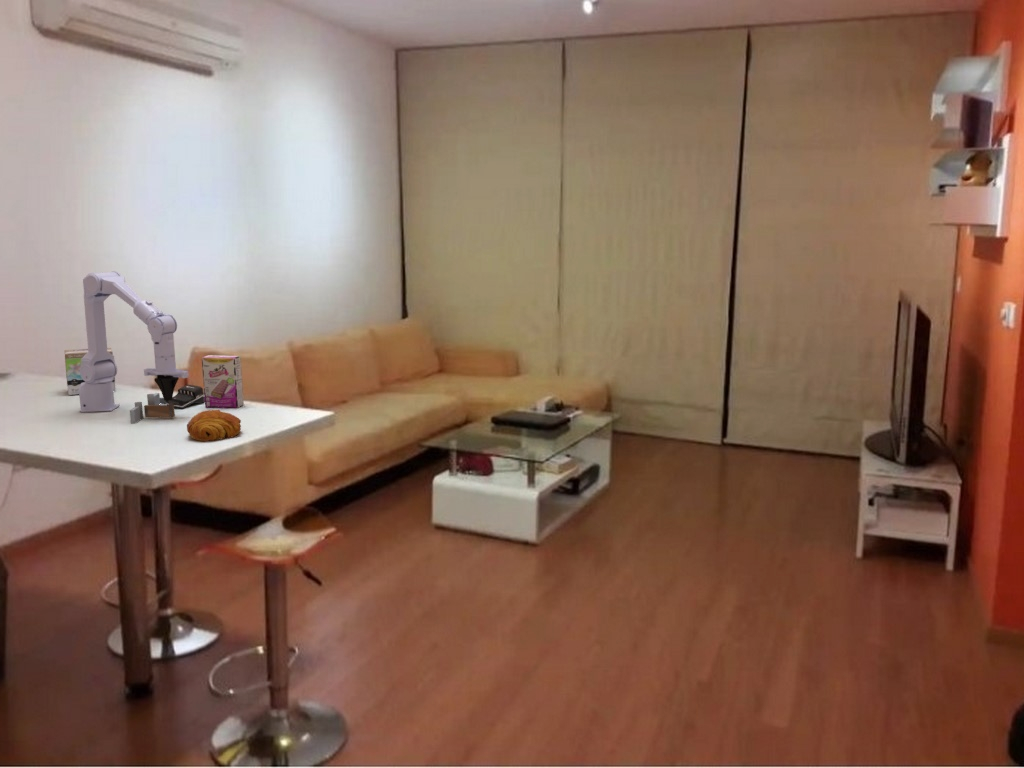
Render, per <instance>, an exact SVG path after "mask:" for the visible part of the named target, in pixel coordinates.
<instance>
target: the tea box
mask: <svg viewBox="0 0 1024 768" xmlns="http://www.w3.org/2000/svg"><path fill="white" fill-rule="evenodd" d="M107 351H108V352H109V353H111V354H112V355H113V356H114V354H113V350H112V347H107ZM87 352H88V348H81V349H65V350H64V363H65V365H64V366H65V374H66V375H65V376H66V387H67V393H68V396H75V395H79V387H80V384H81V383H83V382H85V381H84V380H83V379H82V378H81V375H80V367H81V359H82V358H83V357H84V356H85V355H86V354H87ZM112 382H113V391H115V392H116V376H115V377H114V380H112Z"/></svg>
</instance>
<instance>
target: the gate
mask: <svg viewBox="0 0 1024 768" xmlns="http://www.w3.org/2000/svg"><path fill="white" fill-rule="evenodd" d="M143 409H144V410H143V411H144V418H146V419H147V418H148V419H149V418H151V419H152V418H153V419H154V418H158V419H159V418H160V419H161V418H165V419H166V418H171V419H173V418H175V417H176V414H175V407H174V402H170V403H169V405H166V404H160V405H148V404H145V405H144V406H143Z"/></svg>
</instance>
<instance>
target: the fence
mask: <svg viewBox="0 0 1024 768" xmlns="http://www.w3.org/2000/svg"><path fill="white" fill-rule="evenodd" d="M146 397H147V398H146V399H147V405H159V404H160V398H161V397H160V393H159V392H155V393H148V394H147V395H146ZM160 405H161V404H160ZM143 411H144V410H143V402H142V401H136V402H134V407H132V408H131V409H130V410H129V418H130V423H131V424H137V423H138V422H139V421H140V419H141V420H143V419H144V413H143ZM142 418H143V419H142ZM138 420H139V421H138ZM137 421H138V422H137Z"/></svg>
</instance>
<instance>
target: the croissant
mask: <svg viewBox="0 0 1024 768" xmlns="http://www.w3.org/2000/svg"><path fill="white" fill-rule="evenodd" d="M241 423H242V420H241V419H240V418H239V417H237V416H236V415H233V414H231V413H229V412H225V411H221V410H220V409H214V410H211V409H210V410H202V411H201V412H198V413H197V414H196V415H194V416H192V417H191V419H190V420H189V421H188V423H187V424H186V431H187V433H188V435H189V436H190V437H191V438H192V439H193V440H196V441H202V442H210V441H209V440H211V441H215V440H216V441H217V440H223V439H231V438H234V437H235V436H237V435H239V433H240V432H241V429H242V425H241Z"/></svg>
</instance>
